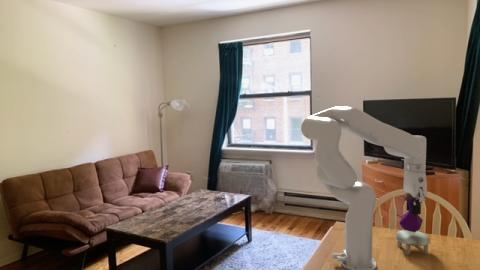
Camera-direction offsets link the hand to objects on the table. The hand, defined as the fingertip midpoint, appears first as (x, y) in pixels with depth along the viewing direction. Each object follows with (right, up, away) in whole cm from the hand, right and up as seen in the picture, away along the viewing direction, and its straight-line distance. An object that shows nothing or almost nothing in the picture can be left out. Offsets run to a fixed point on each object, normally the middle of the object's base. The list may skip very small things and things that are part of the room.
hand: (413, 211), depth 136 cm
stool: (0, -16, +2) cm, 16 cm away
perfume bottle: (0, -8, +2) cm, 8 cm away
